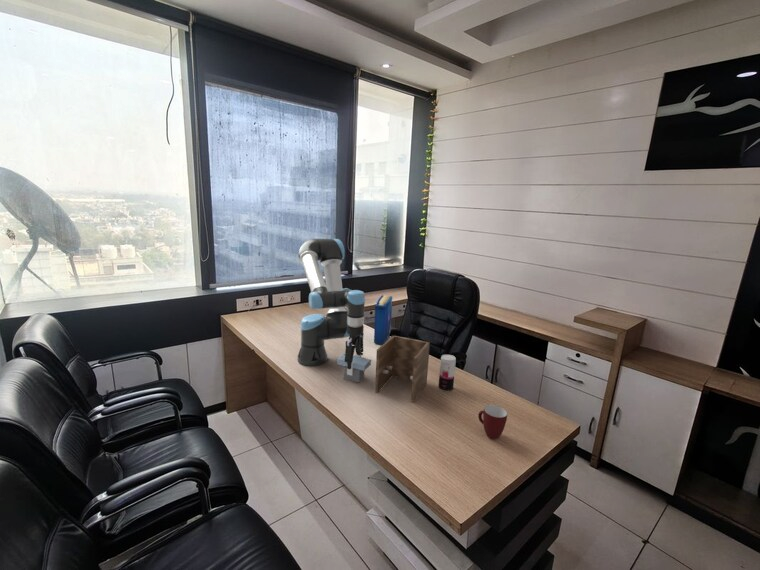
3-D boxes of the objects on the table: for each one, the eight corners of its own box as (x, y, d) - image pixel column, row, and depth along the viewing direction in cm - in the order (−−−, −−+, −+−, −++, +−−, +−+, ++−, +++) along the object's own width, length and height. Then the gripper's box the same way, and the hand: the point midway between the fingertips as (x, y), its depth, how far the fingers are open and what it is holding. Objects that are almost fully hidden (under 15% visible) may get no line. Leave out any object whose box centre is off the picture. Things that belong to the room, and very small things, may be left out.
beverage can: (445, 393, 157) (448, 361, 154) (435, 386, 163) (438, 356, 159) (456, 389, 161) (459, 358, 157) (446, 383, 166) (448, 353, 163)
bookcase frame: (374, 392, 155) (376, 349, 151) (391, 374, 172) (393, 335, 168) (414, 402, 148) (417, 358, 144) (426, 382, 166) (429, 342, 161)
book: (384, 346, 207) (386, 304, 201) (372, 344, 208) (374, 303, 203) (390, 333, 227) (392, 295, 222) (379, 332, 229) (381, 294, 223)
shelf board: (337, 364, 165) (337, 359, 165) (344, 358, 172) (344, 353, 171) (364, 370, 160) (364, 365, 159) (370, 364, 166) (371, 359, 166)
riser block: (343, 378, 166) (343, 366, 165) (348, 374, 171) (349, 362, 169) (359, 382, 163) (359, 370, 162) (363, 377, 168) (364, 366, 166)
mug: (470, 431, 131) (473, 407, 129) (482, 423, 136) (484, 399, 134) (497, 446, 123) (500, 420, 121) (508, 436, 129) (511, 411, 127)
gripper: (352, 333, 151) (350, 382, 156) (372, 319, 169) (370, 364, 174) (337, 330, 154) (335, 378, 159) (357, 317, 172) (356, 361, 177)
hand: (353, 371), depth 167 cm, fingers closed on shelf board, 7 cm apart
